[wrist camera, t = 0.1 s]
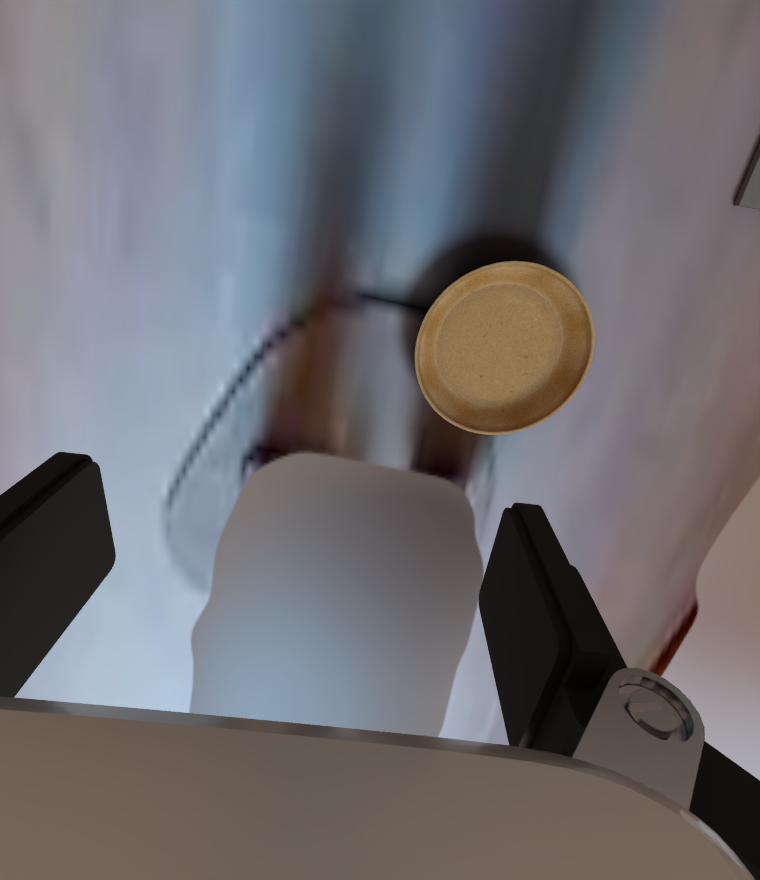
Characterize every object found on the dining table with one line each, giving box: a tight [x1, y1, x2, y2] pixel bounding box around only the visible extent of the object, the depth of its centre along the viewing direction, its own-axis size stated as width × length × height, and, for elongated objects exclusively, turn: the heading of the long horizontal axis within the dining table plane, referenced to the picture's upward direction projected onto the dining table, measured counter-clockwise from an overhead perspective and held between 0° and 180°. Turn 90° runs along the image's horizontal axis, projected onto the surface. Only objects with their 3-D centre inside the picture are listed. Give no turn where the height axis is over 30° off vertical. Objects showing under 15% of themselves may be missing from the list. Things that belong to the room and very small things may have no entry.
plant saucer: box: [415, 261, 595, 435], centre depth 39 cm, size 15×15×3 cm
